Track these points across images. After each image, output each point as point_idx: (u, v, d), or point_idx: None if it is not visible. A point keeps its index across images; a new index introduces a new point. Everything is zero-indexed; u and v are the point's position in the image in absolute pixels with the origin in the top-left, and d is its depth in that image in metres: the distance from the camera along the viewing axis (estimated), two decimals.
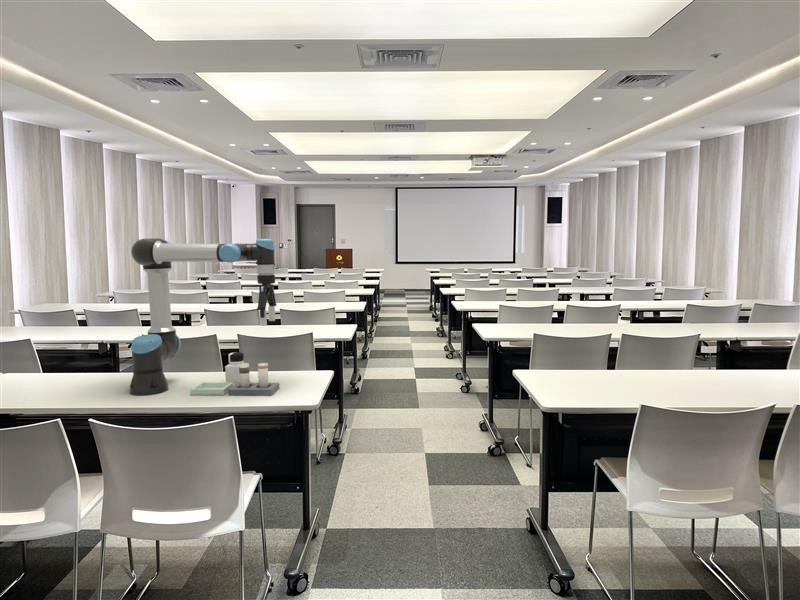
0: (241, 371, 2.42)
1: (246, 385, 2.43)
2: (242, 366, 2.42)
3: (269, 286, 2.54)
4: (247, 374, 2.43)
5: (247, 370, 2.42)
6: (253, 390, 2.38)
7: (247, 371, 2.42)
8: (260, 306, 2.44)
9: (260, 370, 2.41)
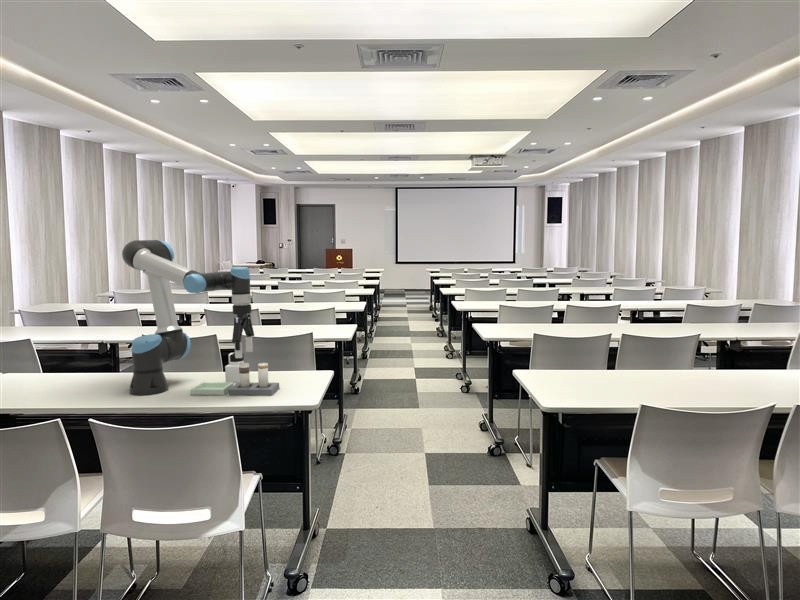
0: (241, 371, 2.42)
1: (246, 385, 2.43)
2: (242, 366, 2.42)
3: (245, 316, 2.42)
4: (247, 374, 2.43)
5: (247, 370, 2.42)
6: (253, 390, 2.38)
7: (247, 371, 2.42)
8: (235, 338, 2.32)
9: (260, 370, 2.41)
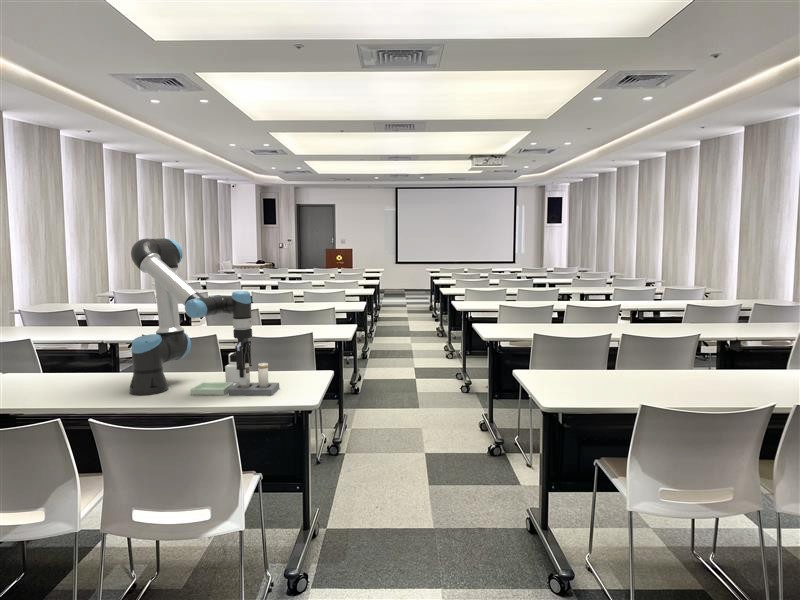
0: None
1: (246, 385, 2.43)
2: None
3: (246, 340, 2.43)
4: (247, 374, 2.43)
5: (247, 370, 2.42)
6: (253, 390, 2.38)
7: (247, 371, 2.42)
8: (239, 366, 2.38)
9: (260, 370, 2.41)
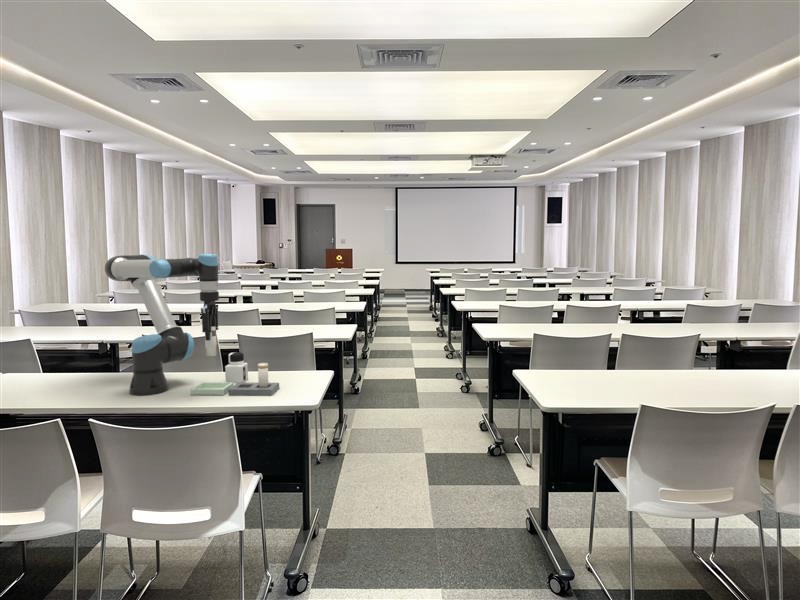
0: None
1: (212, 348, 2.42)
2: None
3: (212, 303, 2.42)
4: (213, 337, 2.42)
5: (213, 333, 2.42)
6: (253, 390, 2.38)
7: (213, 334, 2.42)
8: (205, 329, 2.37)
9: (260, 370, 2.41)
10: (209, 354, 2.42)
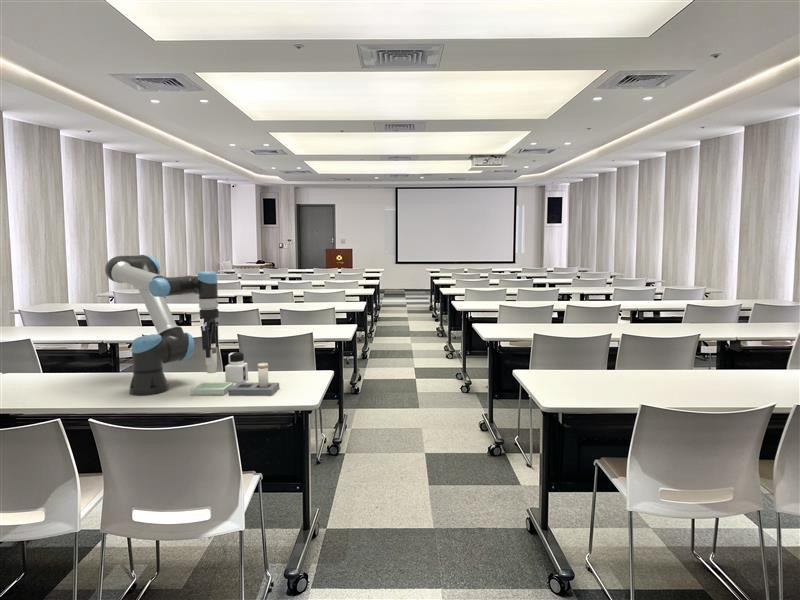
0: None
1: (212, 365, 2.42)
2: None
3: (212, 321, 2.43)
4: (214, 354, 2.43)
5: (213, 350, 2.42)
6: (253, 390, 2.38)
7: (213, 351, 2.42)
8: (205, 346, 2.38)
9: (260, 370, 2.41)
10: (210, 371, 2.42)
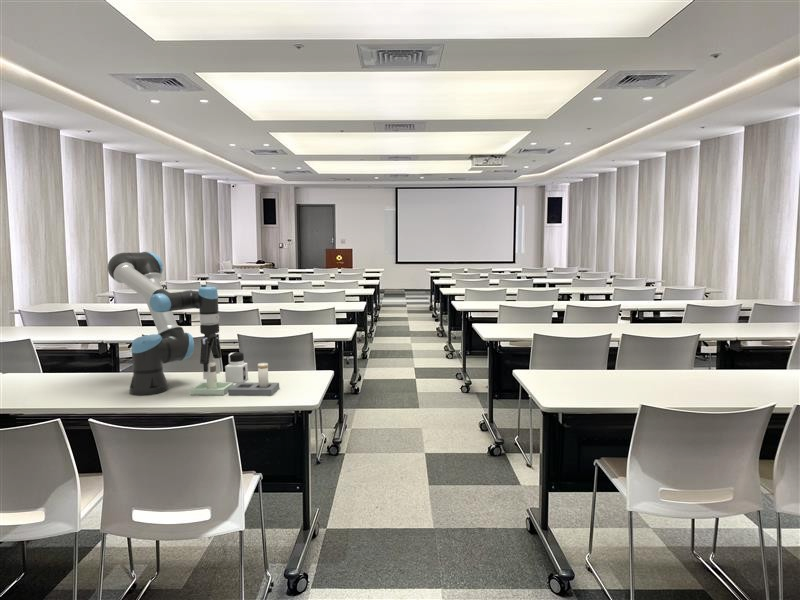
0: None
1: (212, 383, 2.43)
2: None
3: (213, 336, 2.44)
4: (213, 373, 2.43)
5: (213, 369, 2.43)
6: (253, 390, 2.38)
7: (213, 370, 2.43)
8: (202, 360, 2.36)
9: (260, 370, 2.41)
10: None
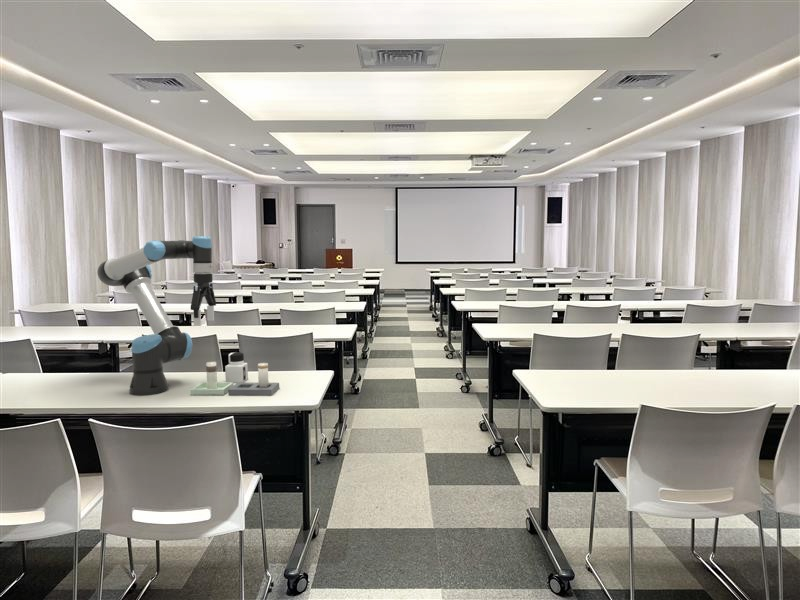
0: (208, 370, 2.42)
1: (213, 383, 2.43)
2: (209, 365, 2.42)
3: (206, 285, 2.46)
4: (214, 373, 2.43)
5: (214, 369, 2.43)
6: (253, 390, 2.38)
7: (214, 370, 2.43)
8: (193, 306, 2.36)
9: (260, 370, 2.41)
10: None
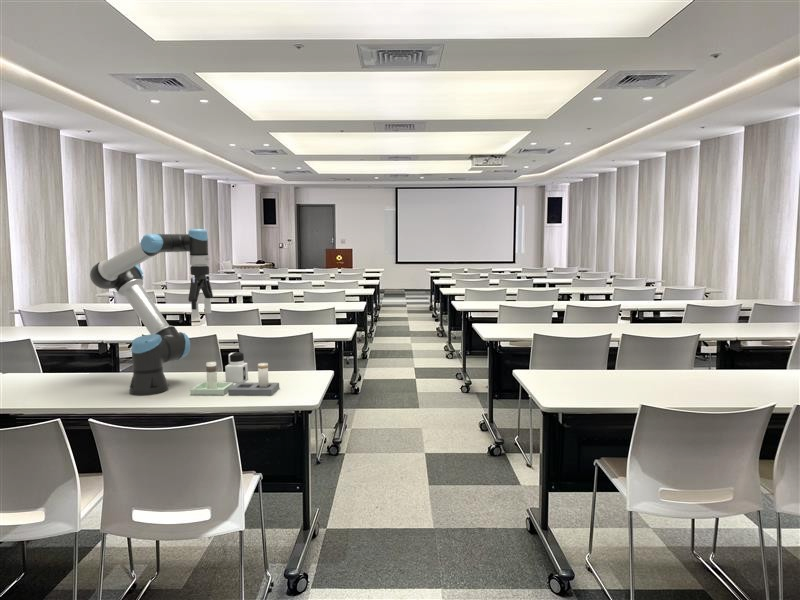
0: (208, 370, 2.42)
1: (213, 383, 2.43)
2: (209, 365, 2.42)
3: (203, 277, 2.49)
4: (214, 373, 2.43)
5: (214, 369, 2.43)
6: (253, 390, 2.38)
7: (214, 370, 2.43)
8: (191, 298, 2.39)
9: (260, 370, 2.41)
10: None
